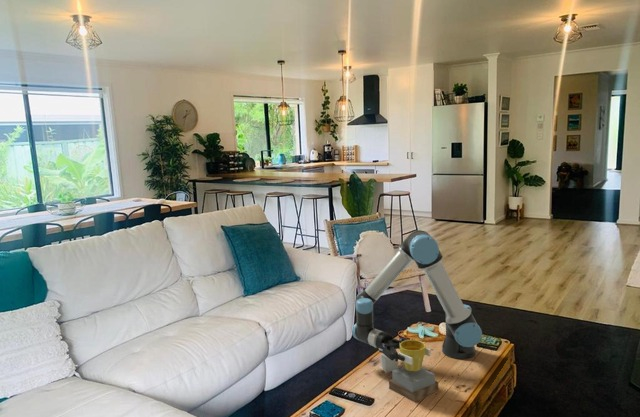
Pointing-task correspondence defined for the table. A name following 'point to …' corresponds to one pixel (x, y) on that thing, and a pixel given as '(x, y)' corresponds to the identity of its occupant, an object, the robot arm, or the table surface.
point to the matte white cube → (388, 364)
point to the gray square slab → (413, 378)
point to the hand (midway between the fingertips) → (421, 357)
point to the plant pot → (413, 353)
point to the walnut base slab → (415, 395)
